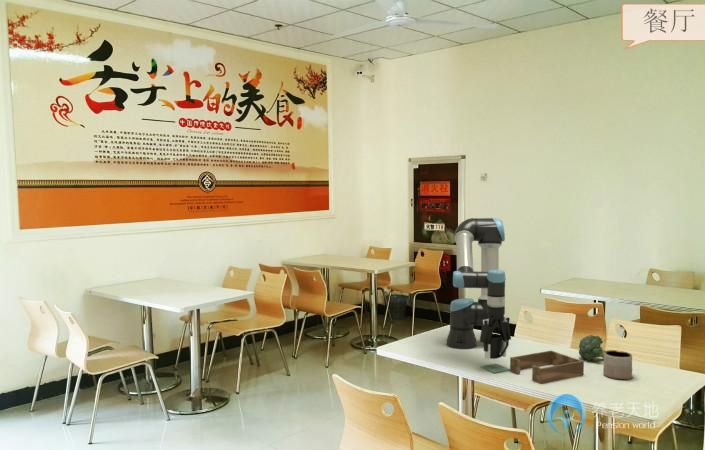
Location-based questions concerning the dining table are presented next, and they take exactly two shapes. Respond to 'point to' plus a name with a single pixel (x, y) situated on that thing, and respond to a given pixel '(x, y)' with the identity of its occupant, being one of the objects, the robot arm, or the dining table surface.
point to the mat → (495, 368)
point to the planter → (617, 365)
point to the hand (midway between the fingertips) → (495, 357)
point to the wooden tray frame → (560, 370)
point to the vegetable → (591, 347)
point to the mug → (496, 346)
